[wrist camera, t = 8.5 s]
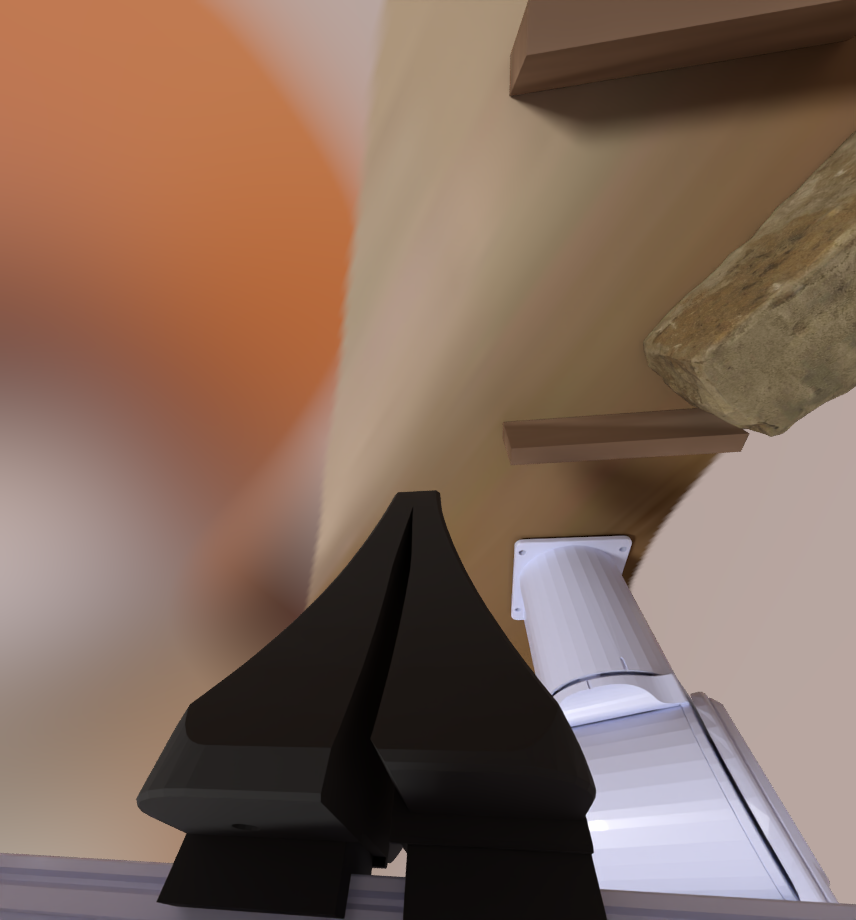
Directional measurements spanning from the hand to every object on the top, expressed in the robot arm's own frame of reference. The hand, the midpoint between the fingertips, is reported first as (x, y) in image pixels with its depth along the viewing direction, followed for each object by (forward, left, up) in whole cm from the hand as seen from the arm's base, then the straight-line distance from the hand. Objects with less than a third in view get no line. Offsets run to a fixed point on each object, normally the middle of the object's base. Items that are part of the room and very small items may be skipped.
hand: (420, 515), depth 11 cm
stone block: (+4, -16, -10) cm, 19 cm away
